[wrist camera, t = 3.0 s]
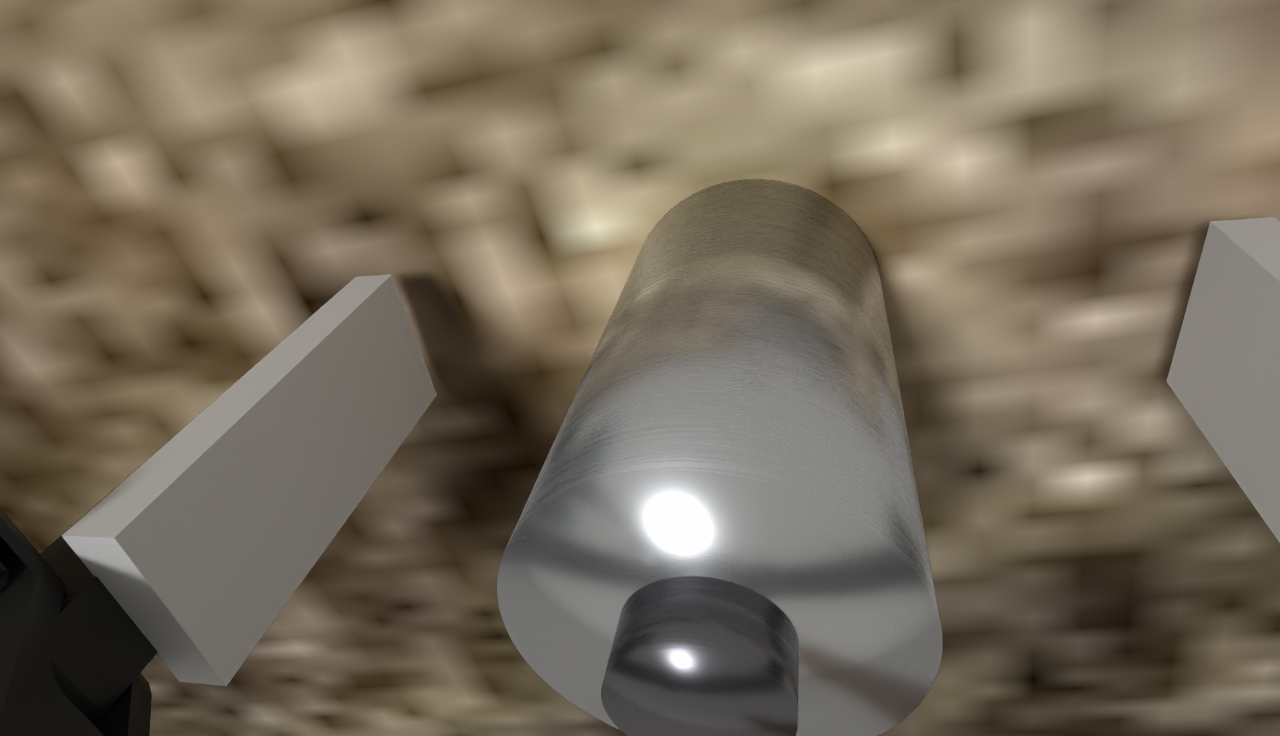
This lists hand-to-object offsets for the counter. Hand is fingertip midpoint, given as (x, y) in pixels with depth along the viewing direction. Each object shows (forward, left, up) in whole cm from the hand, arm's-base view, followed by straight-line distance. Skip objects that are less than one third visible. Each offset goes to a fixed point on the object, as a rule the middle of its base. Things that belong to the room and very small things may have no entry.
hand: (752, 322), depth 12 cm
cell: (0, 0, -1) cm, 1 cm away
